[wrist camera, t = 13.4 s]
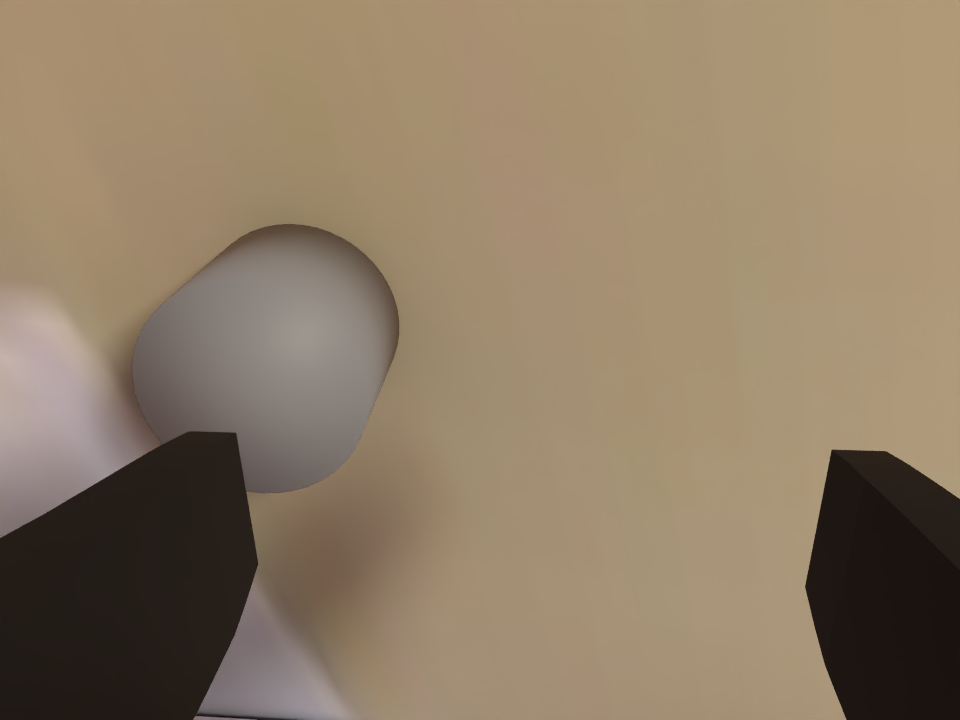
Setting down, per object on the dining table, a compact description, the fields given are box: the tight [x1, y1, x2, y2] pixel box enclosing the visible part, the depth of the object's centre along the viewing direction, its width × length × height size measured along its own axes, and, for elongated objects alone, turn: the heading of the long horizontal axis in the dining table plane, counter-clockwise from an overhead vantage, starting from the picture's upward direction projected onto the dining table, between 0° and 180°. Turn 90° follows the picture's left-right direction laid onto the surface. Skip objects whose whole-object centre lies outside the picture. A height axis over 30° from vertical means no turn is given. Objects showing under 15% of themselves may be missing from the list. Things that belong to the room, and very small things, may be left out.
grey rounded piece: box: [132, 224, 399, 493], centre depth 19 cm, size 5×5×4 cm
